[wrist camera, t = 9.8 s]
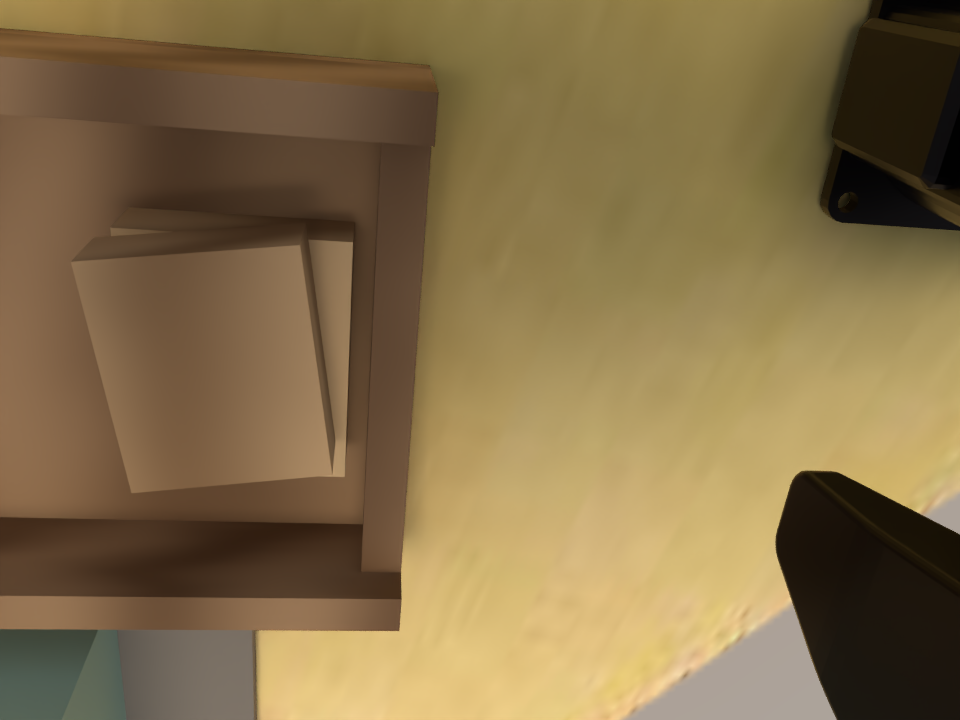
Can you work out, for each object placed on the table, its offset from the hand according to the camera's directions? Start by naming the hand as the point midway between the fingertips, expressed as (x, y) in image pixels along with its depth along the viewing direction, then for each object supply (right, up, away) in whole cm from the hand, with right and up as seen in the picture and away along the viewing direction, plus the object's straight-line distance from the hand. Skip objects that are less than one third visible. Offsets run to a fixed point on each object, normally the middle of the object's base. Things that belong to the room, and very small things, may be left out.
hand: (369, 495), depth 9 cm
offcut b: (-5, +2, +11) cm, 12 cm away
